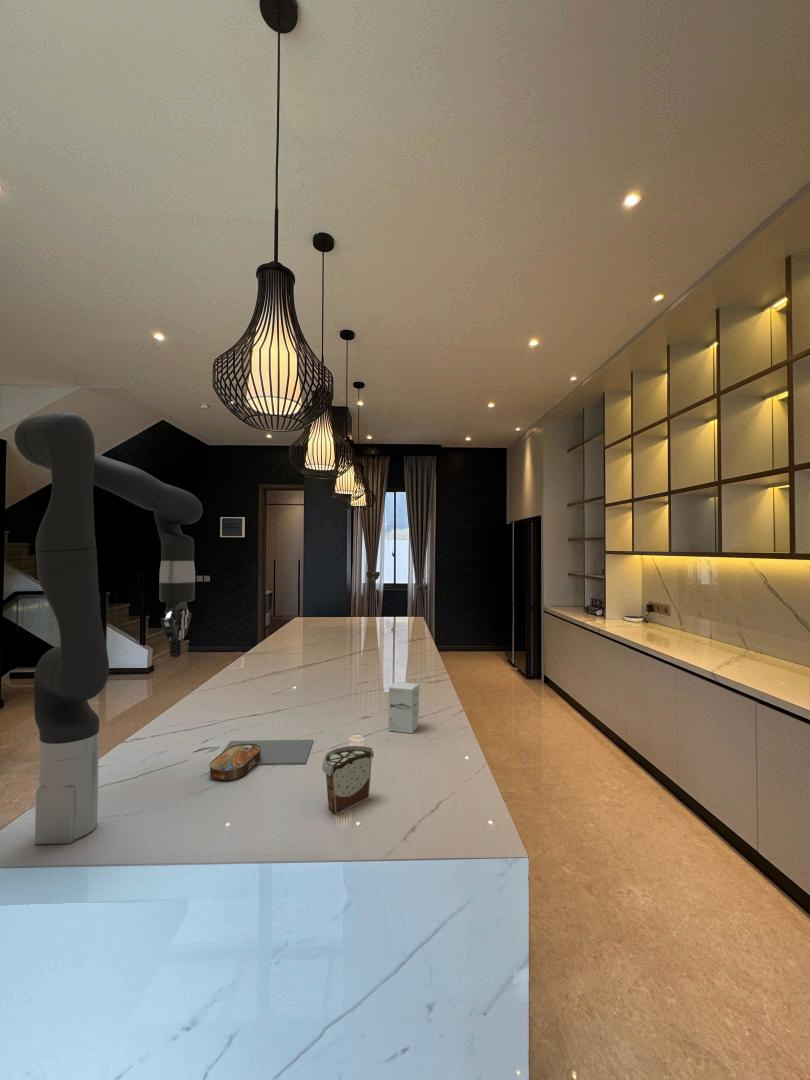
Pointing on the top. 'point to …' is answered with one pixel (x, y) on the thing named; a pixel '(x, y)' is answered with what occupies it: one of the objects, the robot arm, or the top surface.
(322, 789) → the top surface
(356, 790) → the food container
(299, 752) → the mat
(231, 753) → the tin
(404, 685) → the supplement box
